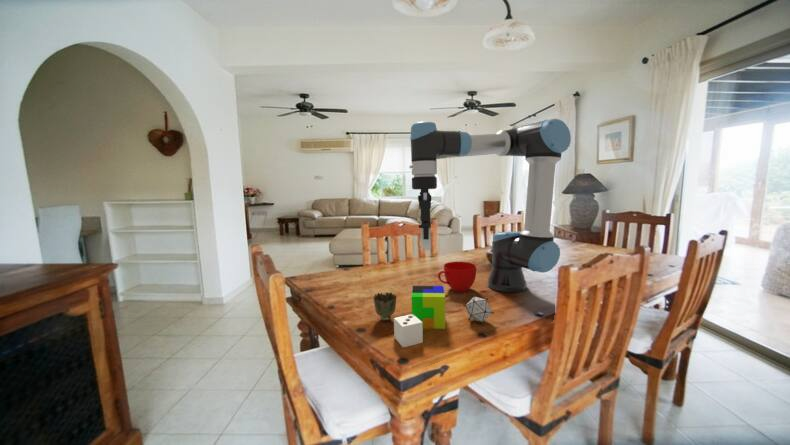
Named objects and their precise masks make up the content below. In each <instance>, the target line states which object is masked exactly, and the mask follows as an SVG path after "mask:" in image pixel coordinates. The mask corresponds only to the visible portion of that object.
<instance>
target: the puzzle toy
mask: <svg viewBox="0 0 790 445" xmlns="http://www.w3.org/2000/svg"><path fill="white" fill-rule="evenodd" d="M411 314H413V315H415V316H416V317H417V318H418V319H419V320H420V321H422V328H423V329H437V330H438V329H441V330H442V329H444V330H445V329H446V295H445V289H444V285H413V286H412V291H411Z"/></svg>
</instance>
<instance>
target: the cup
mask: <svg viewBox="0 0 790 445" xmlns="http://www.w3.org/2000/svg"><path fill="white" fill-rule="evenodd" d="M373 303H374V310H375V312H376V315H378V316H379V318H380V320H381V321H382V322H389V321H391V319H392V315H394V313H395V311H396V306H397V305H396V304H397V295H396V294H395V293H392V292H386V293H385V294H383V292H381V293H380V292H378V293H377V294H374V296H373Z"/></svg>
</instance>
